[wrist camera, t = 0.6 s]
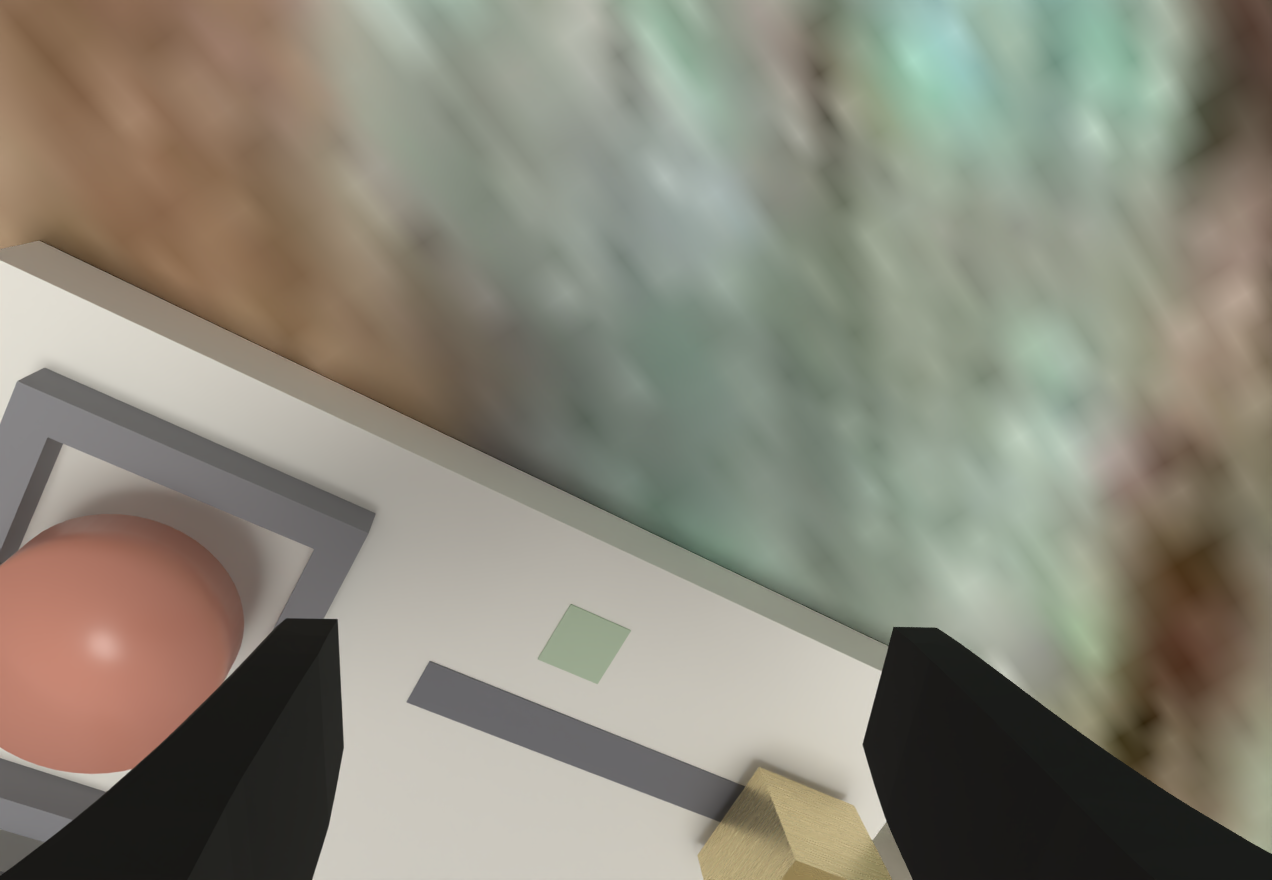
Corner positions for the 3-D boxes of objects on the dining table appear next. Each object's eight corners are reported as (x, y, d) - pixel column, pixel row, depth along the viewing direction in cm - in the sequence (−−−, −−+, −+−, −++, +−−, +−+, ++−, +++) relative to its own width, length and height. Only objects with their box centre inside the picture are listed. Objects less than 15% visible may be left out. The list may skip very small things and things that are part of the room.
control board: (617, 1100, 28) (628, 1206, 26) (-210, 880, 22) (-317, 989, 19) (933, 667, 24) (988, 736, 22) (39, 240, 18) (-49, 259, 15)
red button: (193, 742, 18) (160, 804, 16) (-33, 664, 17) (-94, 723, 15) (280, 571, 17) (255, 618, 15) (46, 475, 16) (-9, 515, 14)
